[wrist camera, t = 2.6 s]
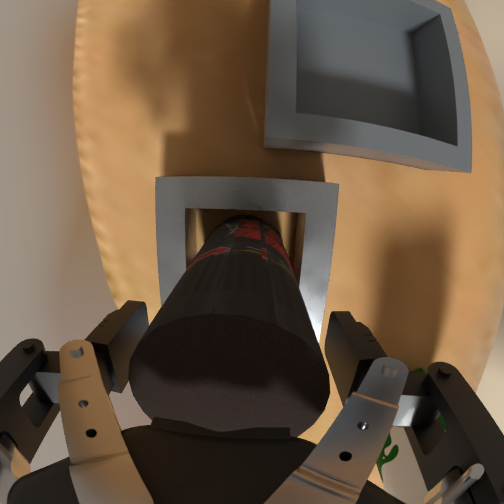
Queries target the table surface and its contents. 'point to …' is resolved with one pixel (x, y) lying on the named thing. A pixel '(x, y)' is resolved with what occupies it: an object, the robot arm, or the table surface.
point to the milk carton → (402, 466)
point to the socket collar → (249, 198)
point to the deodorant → (233, 340)
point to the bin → (368, 82)
